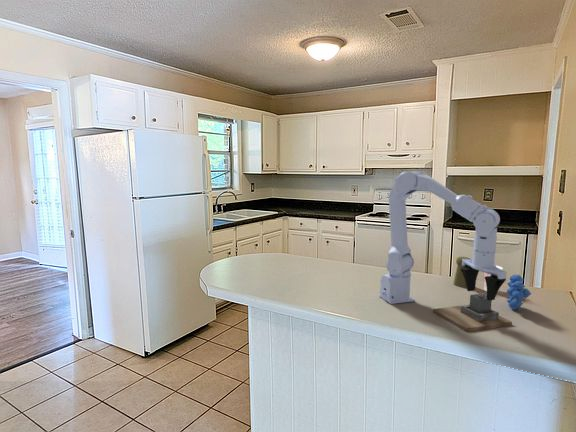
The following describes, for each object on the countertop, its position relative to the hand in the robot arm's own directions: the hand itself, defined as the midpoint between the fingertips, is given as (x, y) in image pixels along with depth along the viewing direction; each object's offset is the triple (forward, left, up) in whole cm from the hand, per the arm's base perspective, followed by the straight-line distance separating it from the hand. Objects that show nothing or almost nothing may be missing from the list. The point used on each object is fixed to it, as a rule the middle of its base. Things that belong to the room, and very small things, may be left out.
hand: (480, 295), depth 106 cm
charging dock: (-2, +1, -8) cm, 8 cm away
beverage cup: (+24, +19, -8) cm, 32 cm away
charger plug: (0, 0, -7) cm, 7 cm away
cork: (+18, +27, -8) cm, 33 cm away
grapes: (+17, +2, -8) cm, 19 cm away
